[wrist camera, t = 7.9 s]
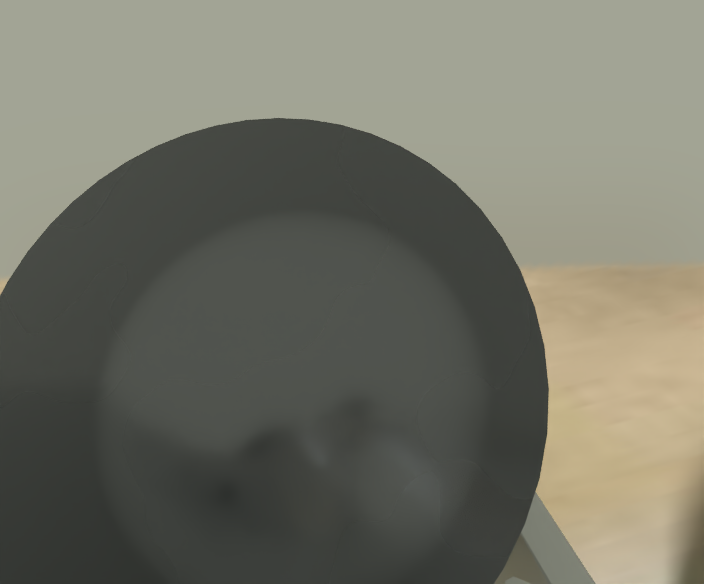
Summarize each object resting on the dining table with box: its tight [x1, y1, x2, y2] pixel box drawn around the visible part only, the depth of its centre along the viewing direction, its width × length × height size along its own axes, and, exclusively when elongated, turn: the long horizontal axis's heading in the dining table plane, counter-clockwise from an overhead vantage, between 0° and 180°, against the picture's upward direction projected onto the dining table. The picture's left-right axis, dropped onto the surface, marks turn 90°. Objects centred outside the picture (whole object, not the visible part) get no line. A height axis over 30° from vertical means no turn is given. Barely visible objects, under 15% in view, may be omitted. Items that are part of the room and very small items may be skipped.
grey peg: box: [0, 118, 549, 584], centre depth 11 cm, size 6×6×13 cm
